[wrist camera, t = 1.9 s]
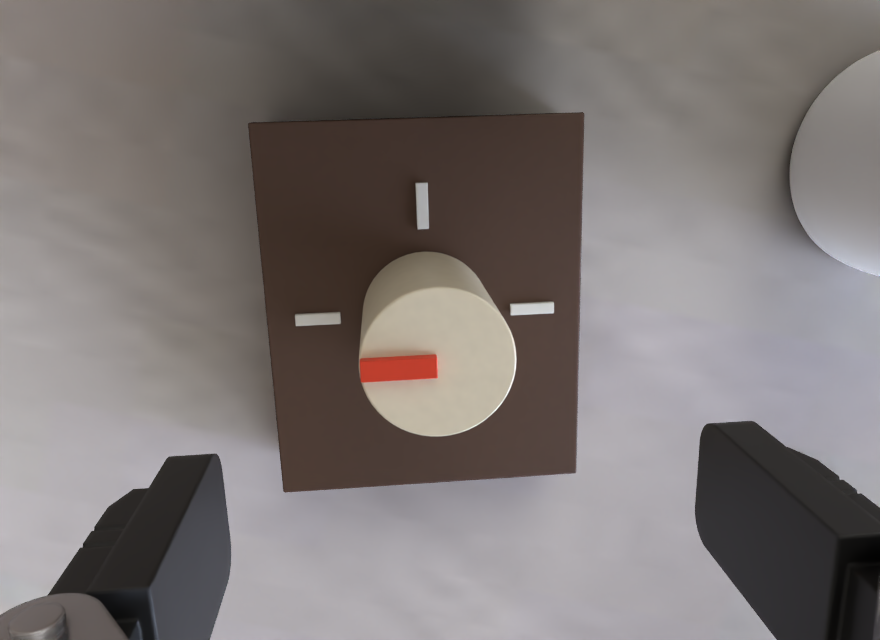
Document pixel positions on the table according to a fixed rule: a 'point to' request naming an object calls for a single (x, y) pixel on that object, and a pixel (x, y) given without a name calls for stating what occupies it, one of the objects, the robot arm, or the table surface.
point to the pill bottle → (842, 167)
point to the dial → (434, 346)
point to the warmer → (404, 232)
